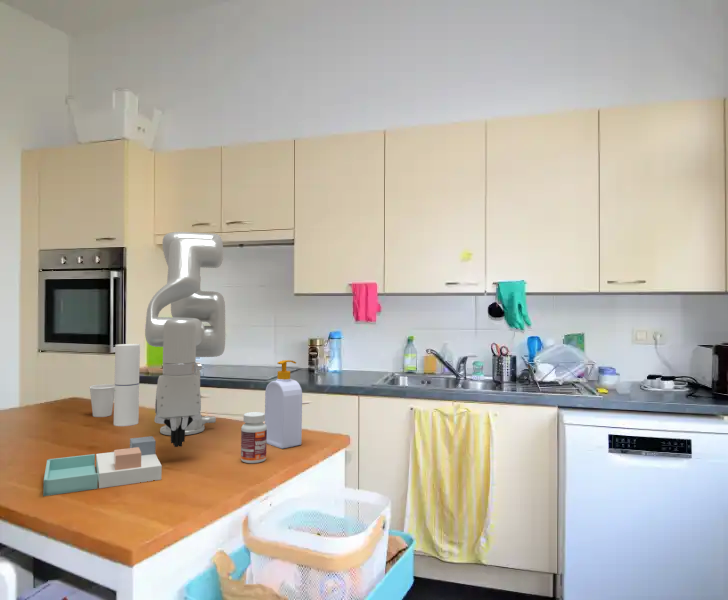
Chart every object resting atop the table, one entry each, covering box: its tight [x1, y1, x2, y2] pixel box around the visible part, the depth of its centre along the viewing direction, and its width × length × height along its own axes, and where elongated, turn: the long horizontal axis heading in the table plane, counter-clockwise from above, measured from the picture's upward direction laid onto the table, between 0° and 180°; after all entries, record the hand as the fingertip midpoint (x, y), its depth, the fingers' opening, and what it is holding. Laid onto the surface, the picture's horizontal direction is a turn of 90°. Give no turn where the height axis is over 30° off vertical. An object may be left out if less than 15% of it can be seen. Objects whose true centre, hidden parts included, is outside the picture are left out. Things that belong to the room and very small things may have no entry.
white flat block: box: [95, 451, 163, 489], centre depth 115 cm, size 12×16×3 cm
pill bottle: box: [240, 411, 267, 464], centre depth 126 cm, size 6×6×11 cm
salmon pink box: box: [113, 447, 141, 470], centre depth 111 cm, size 5×5×3 cm
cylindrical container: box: [113, 343, 141, 427], centre depth 163 cm, size 7×7×25 cm
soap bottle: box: [264, 359, 303, 450], centre depth 142 cm, size 9×7×23 cm
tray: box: [42, 453, 98, 497], centre depth 110 cm, size 9×16×3 cm, turn 30°
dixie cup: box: [88, 383, 115, 418], centre depth 175 cm, size 8×8×10 cm
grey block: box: [129, 435, 156, 456], centre depth 121 cm, size 5×5×3 cm
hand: (177, 445), depth 125 cm, fingers closed
